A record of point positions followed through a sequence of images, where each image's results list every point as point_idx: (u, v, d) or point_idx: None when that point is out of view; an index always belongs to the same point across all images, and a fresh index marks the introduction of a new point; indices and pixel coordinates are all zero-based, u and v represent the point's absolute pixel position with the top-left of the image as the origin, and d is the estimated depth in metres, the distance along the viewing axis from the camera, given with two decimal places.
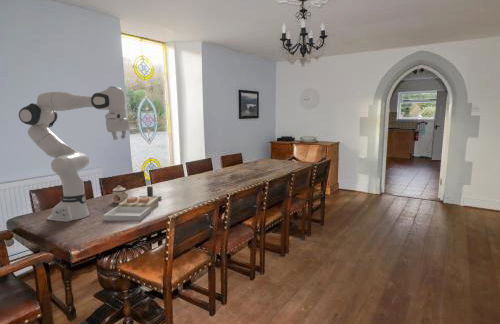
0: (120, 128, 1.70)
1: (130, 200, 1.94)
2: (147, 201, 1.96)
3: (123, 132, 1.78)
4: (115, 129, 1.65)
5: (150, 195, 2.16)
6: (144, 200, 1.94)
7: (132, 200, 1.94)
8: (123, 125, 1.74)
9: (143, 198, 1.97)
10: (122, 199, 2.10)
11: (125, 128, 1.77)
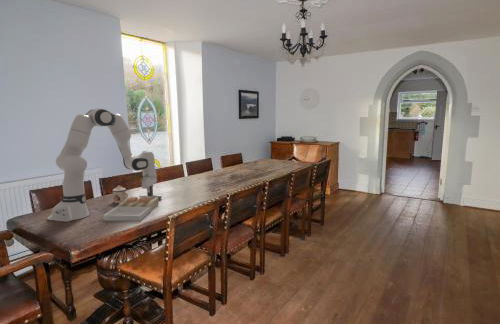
0: None
1: (130, 200, 1.94)
2: (147, 201, 1.96)
3: None
4: None
5: (150, 195, 2.16)
6: (144, 200, 1.94)
7: (132, 200, 1.94)
8: None
9: (143, 198, 1.97)
10: (122, 199, 2.10)
11: None
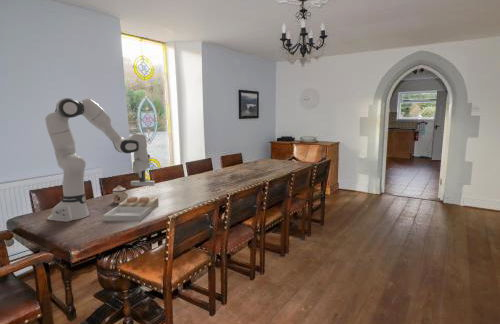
0: None
1: (130, 200, 1.94)
2: (147, 201, 1.96)
3: None
4: None
5: (142, 180, 2.02)
6: (144, 200, 1.94)
7: (132, 200, 1.94)
8: None
9: (143, 198, 1.97)
10: (122, 199, 2.10)
11: None
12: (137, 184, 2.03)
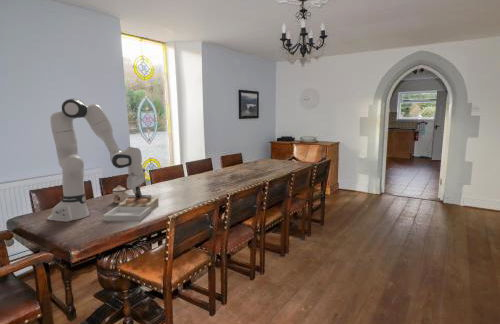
0: None
1: (129, 201, 1.93)
2: (146, 202, 1.94)
3: None
4: None
5: (139, 196, 1.96)
6: (143, 201, 1.92)
7: (131, 201, 1.92)
8: None
9: (142, 198, 1.95)
10: (122, 199, 2.10)
11: None
12: None
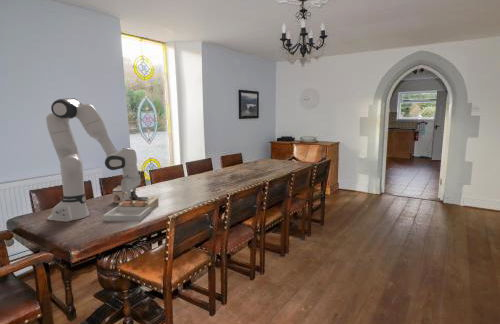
0: None
1: (125, 203, 1.87)
2: (143, 204, 1.89)
3: None
4: None
5: (135, 200, 1.90)
6: (140, 203, 1.87)
7: (127, 203, 1.87)
8: None
9: (138, 201, 1.90)
10: (122, 199, 2.10)
11: None
12: None
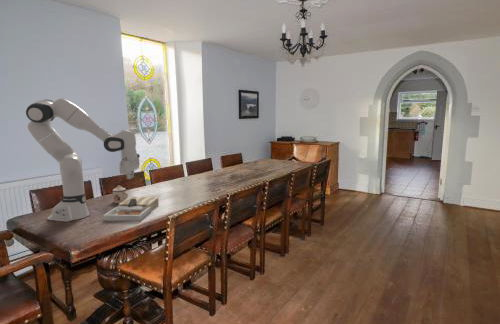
0: None
1: None
2: None
3: None
4: None
5: (131, 204, 1.84)
6: None
7: None
8: None
9: None
10: (122, 199, 2.10)
11: None
12: (123, 208, 1.82)
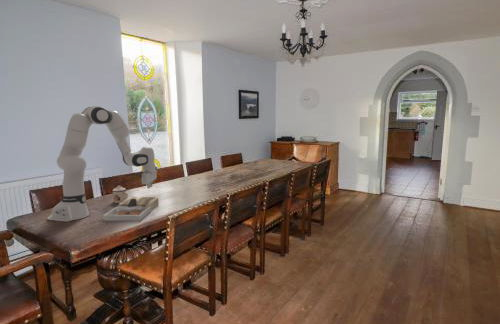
0: None
1: None
2: None
3: None
4: None
5: (131, 204, 1.84)
6: None
7: None
8: None
9: None
10: (122, 199, 2.10)
11: None
12: (123, 208, 1.82)
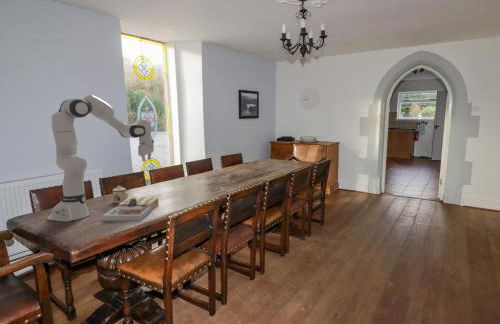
0: None
1: None
2: None
3: None
4: None
5: (131, 204, 1.84)
6: None
7: None
8: None
9: None
10: (122, 199, 2.10)
11: None
12: (123, 208, 1.82)
